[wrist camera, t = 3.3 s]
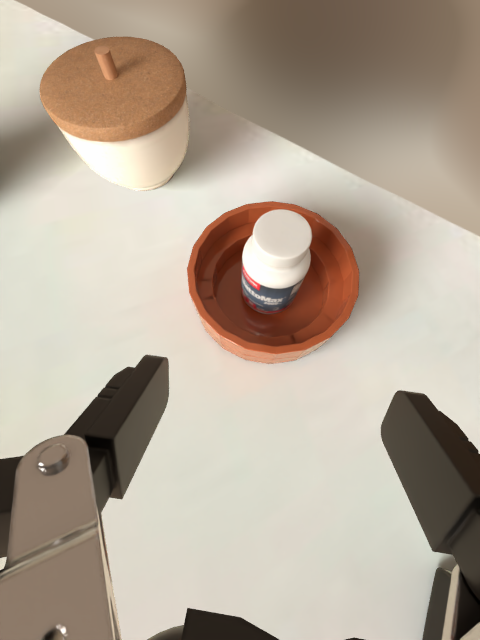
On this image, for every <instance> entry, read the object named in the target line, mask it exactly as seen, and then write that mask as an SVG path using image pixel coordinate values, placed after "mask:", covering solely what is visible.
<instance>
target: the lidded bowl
mask: <svg viewBox="0 0 480 640" xmlns="http://www.w3.org/2000/svg"><path fill="white" fill-rule="evenodd" d="M40 98H41V101H42V103H43V106H44V108H45V109H46V111H47V112H48V114H49V115H50V117H51V118H52V120H53V121H54V122H55V124H56V125H58V127H59V129H60V130H61V132H62V133H63V135H64V136H65V138H66V139H67V141H68V142H69V143H70V145H71V146H72V148H73V149H74V150H75V151H76V153H77V154H78V155H79V156H80V158H81V159H82V160H83V161H84V162H85V163H86V164H87V165H88V166H89V167H90V168H91V169H92V170H93V171H95V172H96V173H97V174H99V175H100V176H102V177H103V178H105V179H106V180H108V181H110V182H112V183H115V184H117V185H121V186H124V187H127V188H129V189H132V190H137V191H147V190H152V189H156V188H158V187H160V186H162V185H164V184H165V183H167V182H168V181H169V180H170V179H171V178H172V176H173V174H174V173H175V171H176V170H177V169H178V168H179V166H180V165H181V163H182V161H183V159H184V157H185V154H186V151H187V147H188V142H189V127H190V126H189V111H188V103H187V96H186V81H185V75H184V70H183V67H182V65H181V63H180V61H179V60H178V59H177V57H176V56H175V55H174V54H173V53H172V52H171V51H170V50H168V49H167V48H165V47H164V46H162V45H159V44H158V43H155V42H152V41H149V40H146V39H141V38H134V37H110V38H103V39H98V40H94V41H90V42H86V43H84V44H81V45H79V46H76V47H74V48H72V49H70V50H68V51H67V52H65V53H64V54H62V55H61V56H59V57H58V58H57V59H56V60H55V61H53V62H52V64H51V65H50V66H49V67H48V68H47V70H46V71H45V73H44V75H43V77H42V80H41V84H40Z"/></svg>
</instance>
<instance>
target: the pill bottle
mask: <svg viewBox="0 0 480 640" xmlns="http://www.w3.org/2000/svg"><path fill="white" fill-rule="evenodd" d="M311 241H312V231H311V227H310V225H309V223H308V222H307V221H306V219H305V218H304V217H302V216H301V215H300V214H298V213H296V212H293V211H290V210H285V209H278V210H272V211H269V212H267V213H265V214H263V215H262V216H261V217H260V218H259V219H258V220H257V222H256V223H255V226H254V229H253V235H252V236H251V237H250V238H249V239H248V240H247V242H246V244H245V246H244V249H243V254H242V280H241V291H242V296H243V298H244V300H245V302H246V303H247V304H248V305H249V306H250V307H251V308H252V309H253V310H255V311H257V312H260V313H263V314H276V313H280V312H282V311H284V310H285V309H287V308H288V307H289V306H290V305H291V304H292V302H293V300H294V299H295V296H296V294H297V292H298V290H299V288H300V286H301V284H302V282H303V280H304V278H305V276H306V274H307V272H308V269H309V266H310V261H311V254H310V250H309V247H310V244H311Z"/></svg>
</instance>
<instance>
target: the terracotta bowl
mask: <svg viewBox="0 0 480 640" xmlns="http://www.w3.org/2000/svg"><path fill="white" fill-rule="evenodd" d="M278 209H285V210H290V211H293V212H296V213H298V214H300V215H301V216H302V217H304V218H305V219H306V221H307V222H308V223H309V225H310V227H311V231H312V241H311V244H310V247H309V250H310V254H311V261H310V266H309V269H308V272H307V274H306V276H305V278H304V280H303V282H302V284H301V286H300V288H299V290H298V292H297V294H296V296H295V299H294V300H293V302H292V304H291V305H290V306H289V307H288V308H287V309H285V310H284V311H282V312H280V313H276V314H263V313H260V312H257V311H255V310H253V309H252V308H251V307H250V306H249V305H248V304H247V303H246V302H245V300H244V298H243V296H242V291H241V280H242V254H243V249H244V246H245V244H246V242H247V240H248V239H249V238H250V237H251V236H252V235H253V229H254V226H255V223H256V222H257V220H258V219H259V218H260V217H261V216H262V215H263V214H265V213H267V212H269V211H272V210H278ZM187 273H188V284H189V293H190V296H191V298H192V301H193V303H194V306H195V308H196V311H197V313H198V315H199V317H200V319H201V321H202V323H203V326H204V328H205V330H206V332H207V333H208V334H209V335H210V336H211V337H212V338H213V339H214V340H215V341H216V342H217V343H218V344H219V345H220V346H221V347H222V348H224V349H225V350H227V351H229V352H231V353H233V354H235V355H237V356H239V357H241V358H243V359H245V360H250V361H256V362H261V363H267V364H274V363H281V362H288V361H294V360H297V359H299V358H301V357H303V356H305V355H307V354H309V353H311V352H313V351H315V350H317V349H318V348H319V347H320V346H321V345H322V344H324V343H325V342H326V341H327V340H328V339H329V338H330V337H331V336H332V335H333V334H334V333H335V332H336V331H337V330H338V329H339V328H340V327H341V326H342V325H343V324H344V323H345V322H346V321H347V320H348V318H349V317H350V314H351V312H352V309H353V307H354V305H355V302H356V300H357V297H358V290H359V269H358V266H357V263H356V260H355V257H354V254H353V251H352V248H351V247H350V245H349V244H348V243H347V241H346V240H345V239H344V237H343V236H342V234H341V233H340V232H339V230H338V229H337V228H336V227H334V226H333V225H332V224H330V223H329V222H328V221H326V220H325V219H324V218H322V217H321V216H320V215H319V214H317V213H314V212H312V211H310V210H307V209H305V208H302V207H300V206H297V205H294V204H287V203H280V202H273V201H271V202H261V203H253V204H246V205H243V206H241V207H238V208H236V209H233V210H231V211H228V212H226V213H224V214H223V215H221V216H220V217H219V218H217V219H216V220H215V221H214V222H212V223H211V224H210V225H208V226H207V227H206V228H205V230H204V231H203V233H202V234H201V236H200V237H199V239H198V240H197V242H196V243H195V244H194V246H193V249H192V253H191V257H190V260H189V264H188V268H187Z"/></svg>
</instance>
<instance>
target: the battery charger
mask: <svg viewBox="0 0 480 640" xmlns="http://www.w3.org/2000/svg"><path fill="white" fill-rule="evenodd" d="M451 576H452V572H451V571H449V570H447V569H446V570H444V569H442V568H438V569H437V570H436V573H435V578H434V583H433V587H432V592H431V597H430V602H429V607H428V612H427V617H426V623H425V628H424V634H423V640H442V635H443V628H444V622H445V615H446V609H447V602H448V596H449V589H450V583H451Z"/></svg>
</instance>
